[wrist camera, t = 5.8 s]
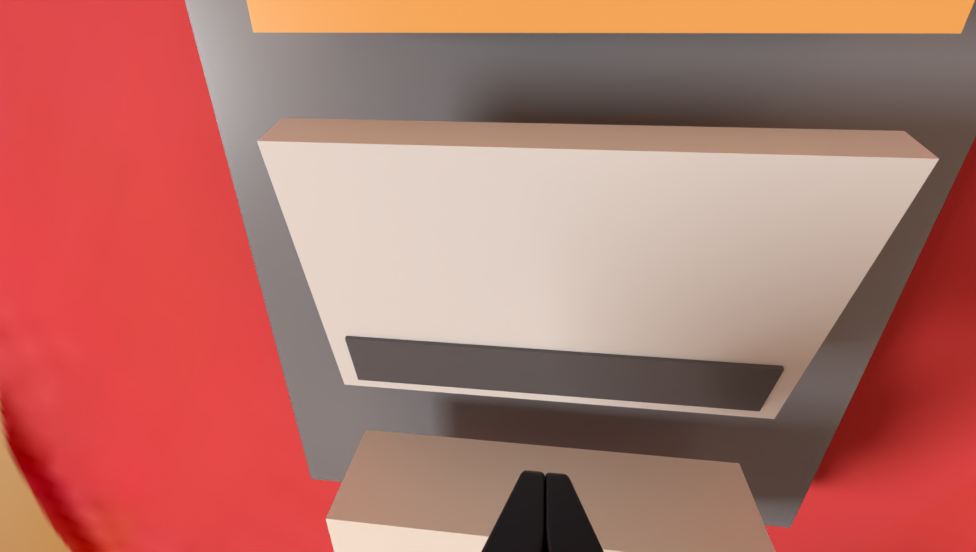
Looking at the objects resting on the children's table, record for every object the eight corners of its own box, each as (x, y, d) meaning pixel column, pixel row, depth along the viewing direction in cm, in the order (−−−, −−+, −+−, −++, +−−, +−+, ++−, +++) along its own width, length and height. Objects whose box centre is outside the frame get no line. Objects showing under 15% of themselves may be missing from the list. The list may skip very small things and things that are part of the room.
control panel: (1112, -359, 9) (1514, -625, 5) (768, 480, 19) (818, 588, 16) (169, -290, 10) (-32, -447, 7) (331, 439, 21) (286, 528, 17)
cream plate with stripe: (904, 130, 8) (942, 161, 7) (761, 385, 13) (775, 422, 12) (282, 117, 9) (254, 143, 8) (356, 355, 14) (343, 387, 13)
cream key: (739, 463, 14) (782, 569, 11) (708, 548, 16) (739, 655, 13) (365, 429, 15) (325, 518, 12) (380, 512, 17) (348, 605, 14)
